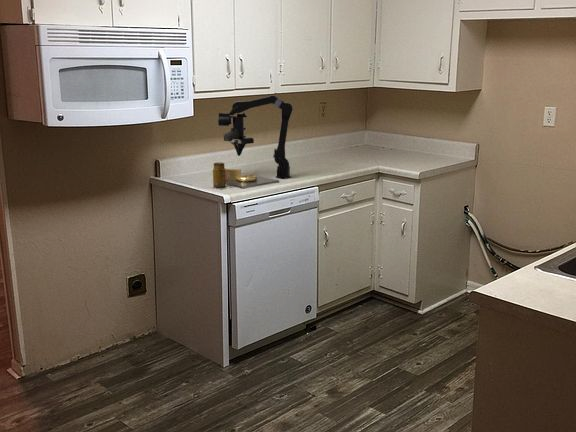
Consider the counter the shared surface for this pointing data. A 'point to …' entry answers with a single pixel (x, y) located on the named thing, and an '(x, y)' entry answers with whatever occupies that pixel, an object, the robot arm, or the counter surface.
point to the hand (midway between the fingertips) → (238, 155)
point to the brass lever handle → (238, 175)
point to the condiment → (219, 176)
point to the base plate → (250, 182)
